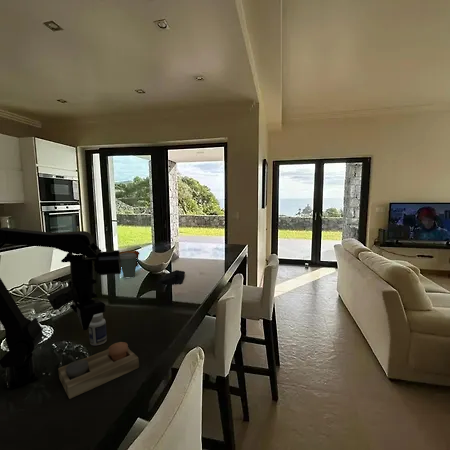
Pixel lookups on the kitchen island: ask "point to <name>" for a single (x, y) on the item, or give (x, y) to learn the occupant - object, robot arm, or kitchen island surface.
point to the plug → (77, 368)
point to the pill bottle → (97, 330)
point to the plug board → (98, 372)
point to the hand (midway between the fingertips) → (85, 329)
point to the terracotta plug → (118, 351)
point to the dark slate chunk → (172, 278)
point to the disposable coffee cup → (128, 264)
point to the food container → (131, 252)
